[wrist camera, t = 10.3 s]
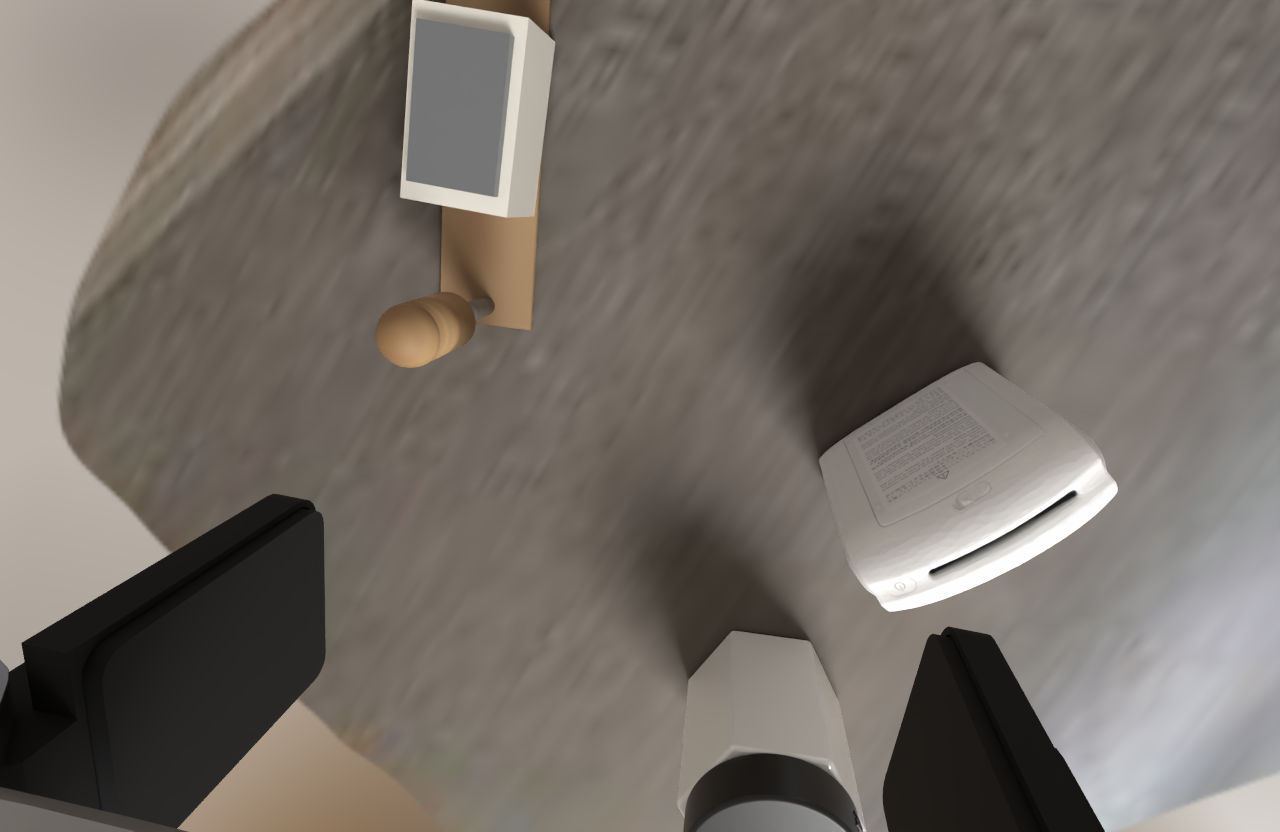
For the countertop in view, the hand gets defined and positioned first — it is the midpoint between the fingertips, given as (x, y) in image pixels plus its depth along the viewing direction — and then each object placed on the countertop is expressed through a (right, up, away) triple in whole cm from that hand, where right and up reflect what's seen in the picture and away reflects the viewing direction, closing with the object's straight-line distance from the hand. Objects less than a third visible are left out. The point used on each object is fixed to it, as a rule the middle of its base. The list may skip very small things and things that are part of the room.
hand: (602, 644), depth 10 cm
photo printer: (+15, +3, +26) cm, 30 cm away
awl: (-8, +9, +26) cm, 29 cm away
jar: (+8, -13, +31) cm, 35 cm away
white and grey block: (-7, +18, +23) cm, 30 cm away
